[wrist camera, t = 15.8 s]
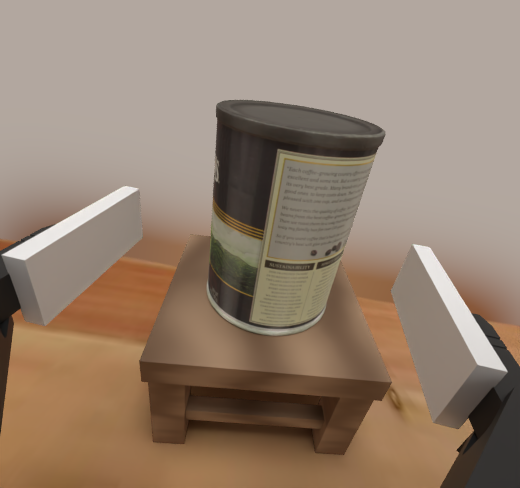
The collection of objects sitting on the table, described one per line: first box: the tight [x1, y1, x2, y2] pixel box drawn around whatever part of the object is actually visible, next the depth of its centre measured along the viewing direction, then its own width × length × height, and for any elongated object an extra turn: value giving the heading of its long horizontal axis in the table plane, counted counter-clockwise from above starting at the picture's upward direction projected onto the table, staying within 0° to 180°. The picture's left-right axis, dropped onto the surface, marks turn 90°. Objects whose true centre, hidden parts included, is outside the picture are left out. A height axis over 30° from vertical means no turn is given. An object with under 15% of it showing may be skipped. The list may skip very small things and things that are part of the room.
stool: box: [139, 234, 392, 455], centre depth 28 cm, size 16×16×10 cm
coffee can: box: [207, 100, 385, 336], centre depth 22 cm, size 10×10×14 cm
